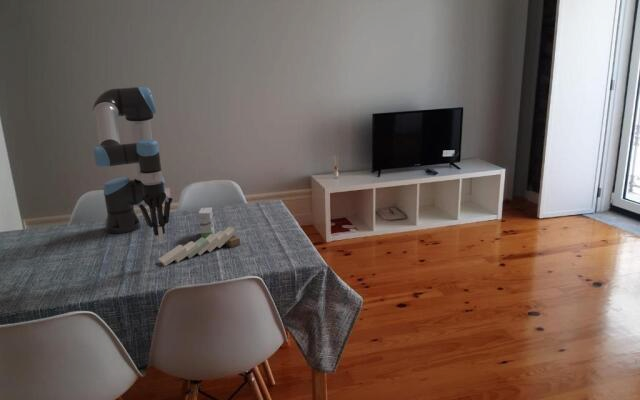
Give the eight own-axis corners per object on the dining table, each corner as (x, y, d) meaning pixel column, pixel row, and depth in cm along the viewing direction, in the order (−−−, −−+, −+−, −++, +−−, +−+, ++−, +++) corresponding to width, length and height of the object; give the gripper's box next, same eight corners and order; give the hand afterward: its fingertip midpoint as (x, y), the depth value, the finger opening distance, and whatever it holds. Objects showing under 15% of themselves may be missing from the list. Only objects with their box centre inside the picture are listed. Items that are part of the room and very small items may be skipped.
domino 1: (163, 262, 191) (185, 247, 196) (158, 259, 195) (180, 244, 199) (165, 266, 192) (187, 250, 196) (160, 262, 195) (181, 247, 200)
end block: (220, 242, 214) (220, 235, 213) (229, 239, 216) (228, 233, 215) (231, 247, 207) (231, 240, 206) (240, 245, 209) (239, 238, 208)
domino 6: (217, 245, 205) (235, 229, 209) (211, 242, 208) (229, 226, 212) (219, 248, 206) (237, 231, 209) (213, 245, 209) (230, 229, 213)
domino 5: (208, 249, 202) (226, 233, 206) (202, 246, 206) (220, 230, 210) (210, 252, 203) (228, 235, 207) (204, 249, 207) (222, 232, 211)
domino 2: (175, 259, 194) (196, 244, 198) (170, 255, 197) (191, 240, 202) (177, 262, 195) (198, 247, 199) (172, 258, 198) (192, 243, 203)
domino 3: (187, 255, 197) (207, 240, 201) (182, 252, 201) (201, 236, 205) (189, 258, 198) (209, 243, 202) (184, 255, 201) (203, 239, 206)
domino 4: (198, 252, 199) (217, 236, 204) (192, 249, 203) (211, 233, 207) (200, 255, 200) (219, 239, 205) (194, 252, 204) (213, 236, 208)
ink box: (212, 238, 218) (209, 212, 215) (201, 239, 218) (198, 213, 214) (214, 231, 226) (212, 206, 223) (203, 232, 226) (200, 207, 223)
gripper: (138, 187, 177) (147, 249, 184) (173, 180, 185) (181, 240, 192) (131, 184, 183) (140, 244, 190) (165, 177, 191) (172, 235, 198)
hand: (160, 242), depth 191 cm, fingers closed
